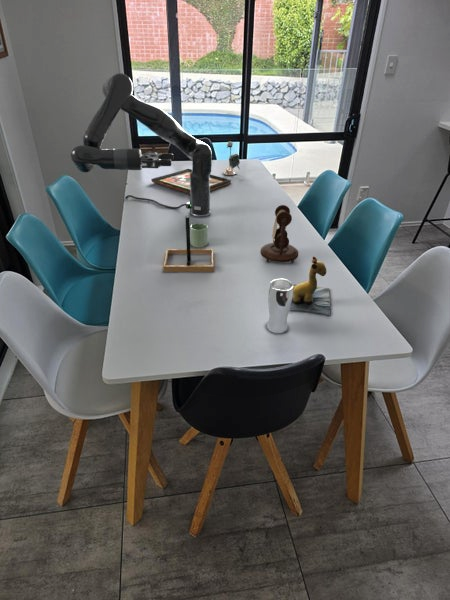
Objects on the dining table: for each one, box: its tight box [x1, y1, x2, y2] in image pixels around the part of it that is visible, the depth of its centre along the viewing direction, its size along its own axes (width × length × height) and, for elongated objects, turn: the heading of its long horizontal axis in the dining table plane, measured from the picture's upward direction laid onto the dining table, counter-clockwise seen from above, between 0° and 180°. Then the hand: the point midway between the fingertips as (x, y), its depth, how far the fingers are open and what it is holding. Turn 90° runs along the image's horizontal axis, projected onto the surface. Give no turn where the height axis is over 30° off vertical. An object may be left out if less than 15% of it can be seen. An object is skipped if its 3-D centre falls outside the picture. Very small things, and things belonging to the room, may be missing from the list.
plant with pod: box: [222, 140, 241, 176], centre depth 246 cm, size 8×11×20 cm
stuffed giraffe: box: [290, 256, 331, 316], centre depth 129 cm, size 16×18×16 cm
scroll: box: [260, 204, 299, 264], centre depth 152 cm, size 15×15×20 cm
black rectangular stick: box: [185, 215, 192, 266], centre depth 146 cm, size 4×1×18 cm, turn 2°
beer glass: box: [266, 278, 295, 334], centre depth 115 cm, size 7×7×15 cm
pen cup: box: [190, 222, 209, 248], centre depth 163 cm, size 7×7×8 cm
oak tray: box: [162, 248, 214, 273], centre depth 152 cm, size 18×14×2 cm
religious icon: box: [151, 168, 232, 195], centre depth 232 cm, size 38×35×3 cm
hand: (172, 159), depth 147 cm, fingers open, 8 cm apart
